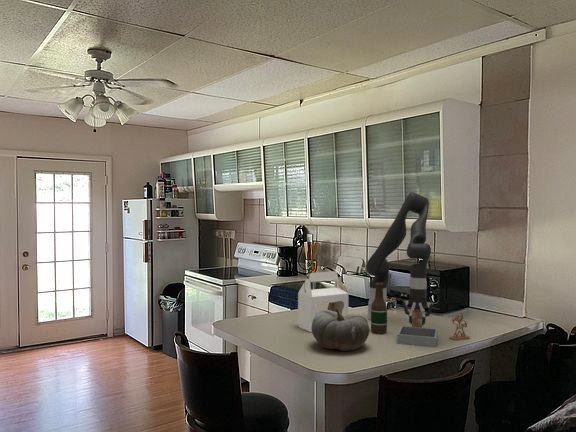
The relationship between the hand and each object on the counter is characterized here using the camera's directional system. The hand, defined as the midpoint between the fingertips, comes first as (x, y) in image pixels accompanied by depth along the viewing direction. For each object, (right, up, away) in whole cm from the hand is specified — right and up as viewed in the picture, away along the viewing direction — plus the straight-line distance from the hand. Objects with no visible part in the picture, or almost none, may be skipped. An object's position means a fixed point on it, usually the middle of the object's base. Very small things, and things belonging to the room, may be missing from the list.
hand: (417, 324), depth 225 cm
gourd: (-36, -8, -10) cm, 39 cm away
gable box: (-41, -7, +23) cm, 48 cm away
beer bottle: (-15, -7, +14) cm, 22 cm away
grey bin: (0, -7, 0) cm, 7 cm away
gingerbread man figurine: (+21, -8, +4) cm, 22 cm away
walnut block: (0, -1, 0) cm, 1 cm away
